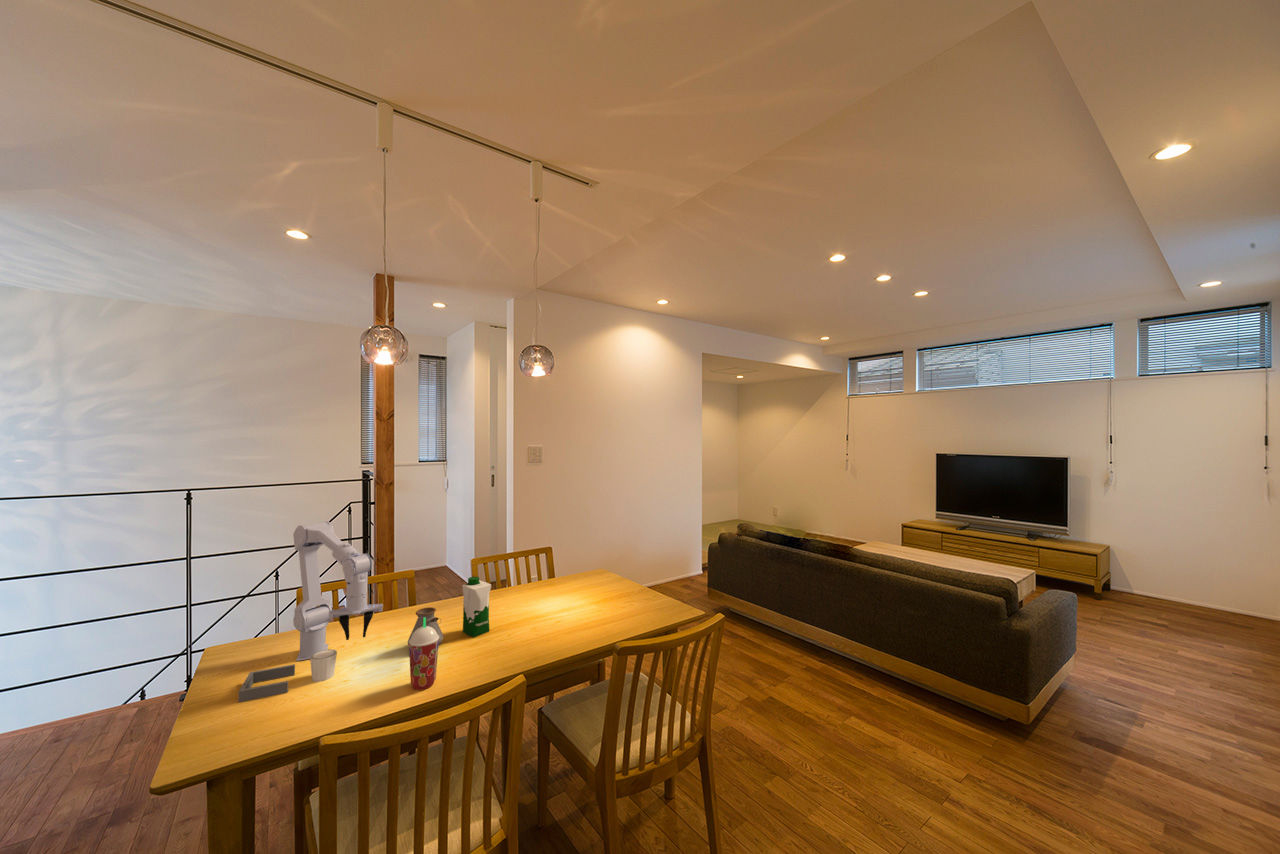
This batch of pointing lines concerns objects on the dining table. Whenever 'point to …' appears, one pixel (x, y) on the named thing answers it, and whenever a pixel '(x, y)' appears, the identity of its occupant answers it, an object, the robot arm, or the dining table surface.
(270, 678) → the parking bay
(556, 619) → the dining table surface
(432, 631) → the smoothie
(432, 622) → the coffee pot
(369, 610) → the robot arm
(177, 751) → the dining table surface
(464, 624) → the milk carton
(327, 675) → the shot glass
